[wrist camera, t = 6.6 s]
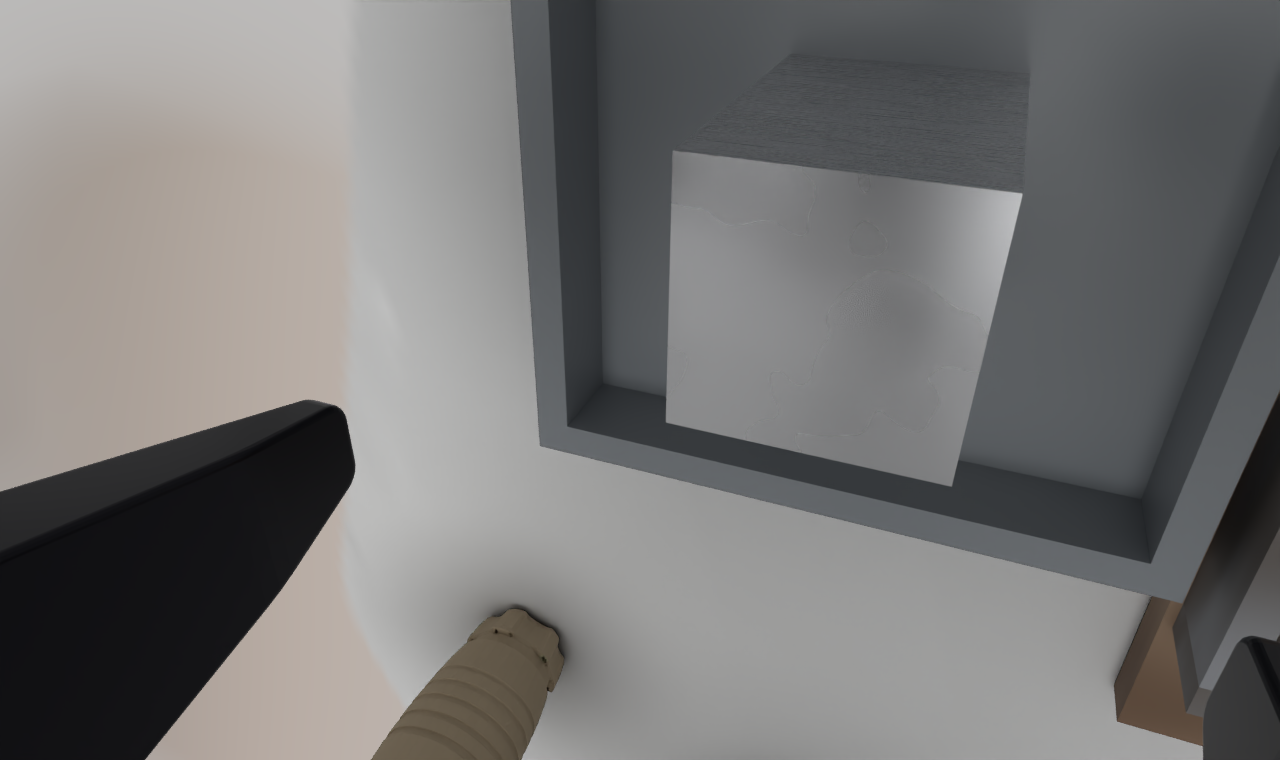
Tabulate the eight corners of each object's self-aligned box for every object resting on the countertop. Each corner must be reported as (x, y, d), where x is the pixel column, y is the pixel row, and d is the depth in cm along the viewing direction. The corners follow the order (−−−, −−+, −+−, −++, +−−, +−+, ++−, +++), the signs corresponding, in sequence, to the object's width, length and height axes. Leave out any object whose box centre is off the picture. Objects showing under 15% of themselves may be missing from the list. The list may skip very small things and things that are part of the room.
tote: (1166, 514, 20) (1182, 603, 18) (588, 388, 25) (539, 445, 22) (1490, -271, 13) (1593, -297, 10) (570, -247, 17) (493, -261, 15)
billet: (979, 293, 19) (951, 486, 13) (771, 261, 20) (665, 422, 14) (1030, 73, 16) (1023, 193, 11) (790, 53, 18) (672, 150, 12)
